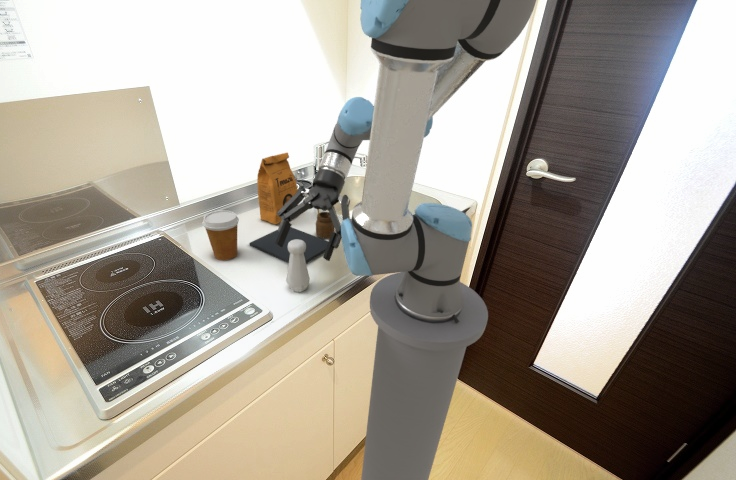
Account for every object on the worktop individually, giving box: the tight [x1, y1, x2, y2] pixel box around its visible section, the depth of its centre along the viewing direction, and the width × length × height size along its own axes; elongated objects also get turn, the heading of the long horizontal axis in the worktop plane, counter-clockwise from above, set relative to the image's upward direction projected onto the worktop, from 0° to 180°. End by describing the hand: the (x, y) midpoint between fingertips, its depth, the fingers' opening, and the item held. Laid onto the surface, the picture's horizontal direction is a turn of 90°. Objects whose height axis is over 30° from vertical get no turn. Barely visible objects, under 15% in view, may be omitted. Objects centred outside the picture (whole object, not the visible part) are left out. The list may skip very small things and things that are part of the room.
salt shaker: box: [285, 239, 311, 293], centre depth 89 cm, size 6×6×13 cm
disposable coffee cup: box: [201, 209, 240, 261], centre depth 102 cm, size 10×10×12 cm
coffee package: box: [256, 152, 298, 225], centre depth 121 cm, size 10×12×22 cm
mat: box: [249, 226, 329, 265], centre depth 110 cm, size 20×16×1 cm
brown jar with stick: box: [315, 205, 336, 240], centre depth 114 cm, size 6×6×12 cm
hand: (301, 252), depth 89 cm, fingers open, 13 cm apart
